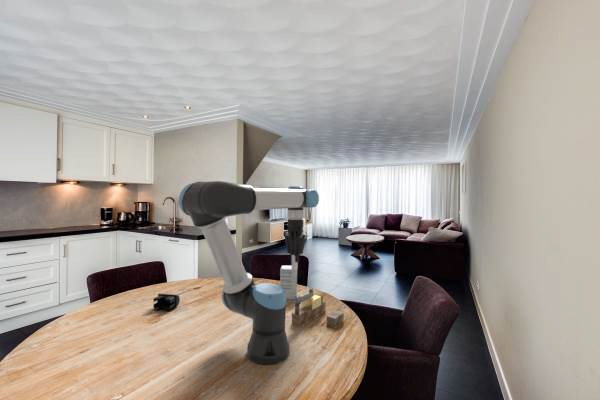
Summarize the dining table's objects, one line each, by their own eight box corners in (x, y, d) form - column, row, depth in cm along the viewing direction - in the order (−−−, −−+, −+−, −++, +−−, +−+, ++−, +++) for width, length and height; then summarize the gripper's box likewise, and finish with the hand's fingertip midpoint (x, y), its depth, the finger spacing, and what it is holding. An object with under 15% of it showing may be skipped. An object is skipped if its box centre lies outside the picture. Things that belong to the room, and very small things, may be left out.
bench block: (335, 327, 120) (335, 318, 120) (326, 325, 123) (326, 316, 123) (343, 321, 127) (343, 312, 127) (335, 319, 129) (335, 310, 129)
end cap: (179, 306, 141) (180, 293, 141) (171, 312, 134) (171, 298, 134) (161, 305, 142) (161, 292, 142) (152, 310, 135) (152, 296, 135)
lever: (298, 304, 120) (298, 296, 120) (292, 303, 122) (292, 295, 122) (314, 296, 131) (315, 288, 131) (309, 295, 133) (309, 287, 133)
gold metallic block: (312, 310, 126) (312, 301, 126) (301, 306, 130) (301, 298, 130) (321, 304, 133) (321, 296, 133) (310, 302, 136) (311, 293, 136)
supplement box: (296, 300, 153) (296, 269, 153) (279, 299, 153) (280, 268, 153) (296, 294, 163) (297, 265, 163) (281, 293, 163) (281, 264, 163)
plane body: (299, 327, 120) (299, 305, 120) (291, 324, 123) (292, 303, 123) (325, 311, 138) (325, 292, 138) (318, 309, 140) (318, 290, 140)
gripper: (311, 219, 131) (310, 269, 131) (289, 217, 139) (288, 265, 139) (302, 220, 125) (301, 272, 125) (279, 218, 133) (278, 267, 133)
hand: (294, 268), depth 132 cm, fingers closed
